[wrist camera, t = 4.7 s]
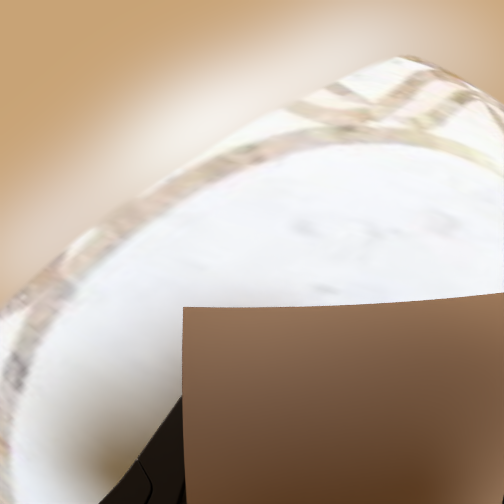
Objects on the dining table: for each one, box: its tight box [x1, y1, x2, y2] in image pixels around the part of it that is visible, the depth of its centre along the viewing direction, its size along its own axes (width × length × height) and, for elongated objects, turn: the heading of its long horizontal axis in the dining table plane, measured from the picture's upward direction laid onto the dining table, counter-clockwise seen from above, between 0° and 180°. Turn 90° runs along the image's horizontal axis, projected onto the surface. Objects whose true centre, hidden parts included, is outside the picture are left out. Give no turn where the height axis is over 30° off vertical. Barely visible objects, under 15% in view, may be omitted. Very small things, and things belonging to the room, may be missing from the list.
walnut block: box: [182, 293, 504, 504], centre depth 9 cm, size 5×5×12 cm
